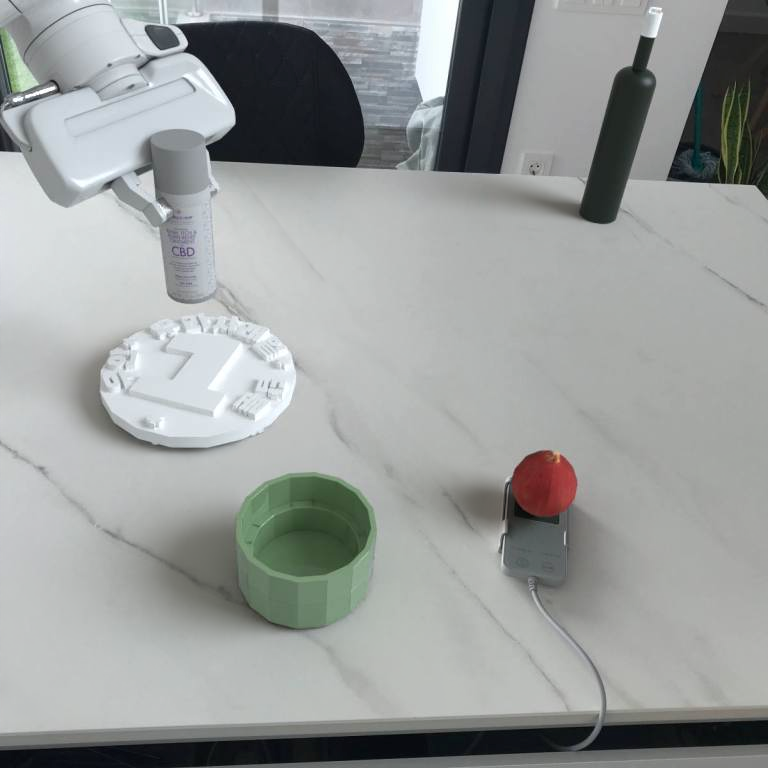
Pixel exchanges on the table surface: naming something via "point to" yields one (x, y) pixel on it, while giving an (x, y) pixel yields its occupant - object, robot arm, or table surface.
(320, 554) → the green faceted pot
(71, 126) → the robot arm
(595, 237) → the table surface
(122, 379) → the giant coin
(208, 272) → the container
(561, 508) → the onion
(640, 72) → the wine bottle
